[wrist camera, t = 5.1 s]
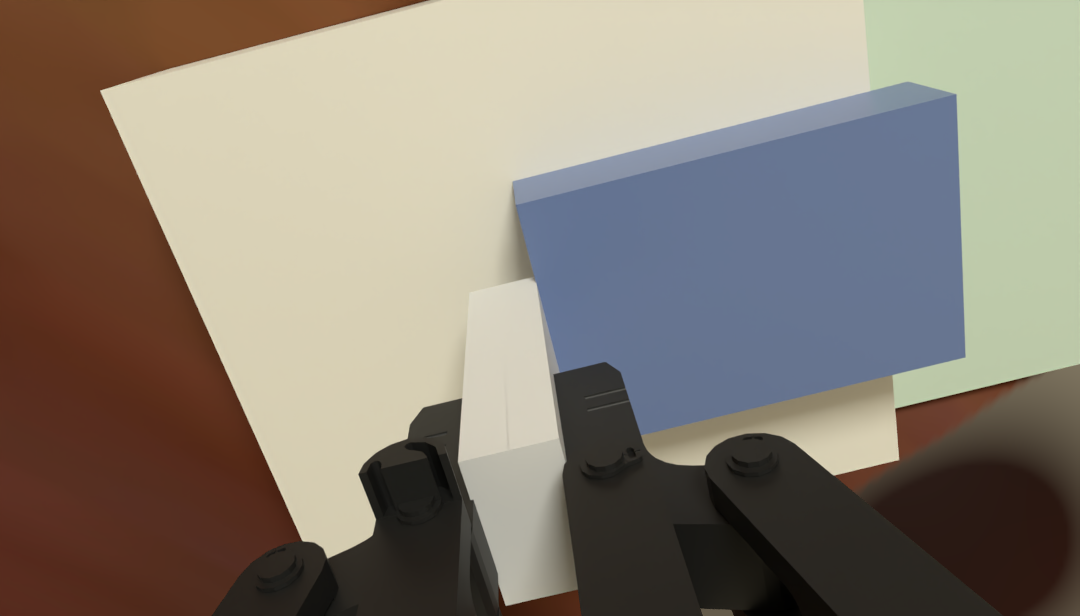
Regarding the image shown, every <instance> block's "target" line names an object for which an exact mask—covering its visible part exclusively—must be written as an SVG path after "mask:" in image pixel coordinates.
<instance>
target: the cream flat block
mask: <svg viewBox="0 0 1080 616" xmlns="http://www.w3.org/2000/svg"><path fill="white" fill-rule="evenodd" d="M869 91H870V79H869V66H868V53H867V40H866V27H865V14H864V2H863V0H429V1H425V2H421V3H417V4H414V5H410V6H406V7H402V8H398V9H395V10H391V11H387V12H383V13H379V14H376V15H372V16H368V17H364V18H360V19H357V20H353V21H349V22H345V23H342V24H338V25H334V26H330V27H326V28H323V29H319V30H315V31H311V32H307V33H304V34H300V35H296V36H292V37H289V38H285V39H281V40H277V41H273V42H270V43H266V44H262V45H258V46H254V47H251V48H247V49H243V50H239V51H235V52H232V53H228V54H224V55H220V56H217V57H213V58H209V59H205V60H201V61H198V62H194V63H190V64H186V65H182V66H179V67H175V68H171V69H168V70H164V71H161V72H158V73H155V74H152V75H149V76H145V77H142V78H139V79H136V80H133V81H130V82H126V83H123V84H120V85H117V86H114V87H111V88H107V89H104V90H101V94H102V96H103V98H104V100H105V103H106V105H107V107H108V109H109V111H110V114H111V116H112V118H113V120H114V123H115V125H116V127H117V129H118V131H119V134H120V136H121V138H122V140H123V143H124V145H125V147H126V149H127V151H128V154H129V156H130V158H131V160H132V163H133V165H134V167H135V169H136V172H137V174H138V176H139V178H140V180H141V183H142V185H143V187H144V189H145V192H146V194H147V196H148V198H149V200H150V203H151V205H152V207H153V209H154V212H155V214H156V216H157V218H158V220H159V223H160V225H161V227H162V229H163V232H164V234H165V236H166V238H167V241H168V243H169V245H170V247H171V249H172V252H173V254H174V256H175V258H176V261H177V263H178V265H179V267H180V269H181V272H182V274H183V276H184V278H185V281H186V283H187V285H188V287H189V289H190V292H191V294H192V296H193V298H194V301H195V303H196V305H197V307H198V309H199V312H200V314H201V316H202V318H203V321H204V323H205V325H206V327H207V330H208V332H209V334H210V336H211V338H212V341H213V343H214V345H215V347H216V350H217V352H218V354H219V356H220V358H221V361H222V363H223V365H224V367H225V370H226V372H227V374H228V376H229V378H230V381H231V383H232V385H233V387H234V390H235V392H236V394H237V396H238V399H239V401H240V403H241V405H242V407H243V410H244V412H245V414H246V416H247V419H248V421H249V423H250V425H251V427H252V430H253V432H254V434H255V436H256V439H257V441H258V443H259V445H260V447H261V450H262V452H263V454H264V456H265V459H266V461H267V463H268V465H269V467H270V470H271V472H272V474H273V476H274V479H275V481H276V483H277V485H278V488H279V490H280V492H281V494H282V496H283V499H284V501H285V503H286V505H287V508H288V510H289V512H290V514H291V516H292V519H293V521H294V523H295V525H296V528H297V530H298V532H299V534H300V536H301V539H302V541H305V542H314V543H316V544H318V545H319V546H321V547H322V548H323V549H324V551H325V554H326V556H327V558H330V557H332V556H334V555H337V554H339V553H341V552H343V551H345V550H348V549H350V548H352V547H354V546H356V545H358V544H360V543H361V542H363V541H365V540H367V539H368V538H370V537H371V536H372V535H373V532H374V527H375V522H376V518H375V516H374V513H373V511H372V508H371V505H370V503H369V500H368V498H367V495H366V493H365V490H364V488H363V485H362V483H361V480H360V478H359V475H358V474H359V472H360V470H361V468H362V466H363V464H364V463H365V462H366V461H367V460H368V459H370V458H371V457H372V456H373V455H374V454H375V453H377V452H378V451H380V450H382V449H384V448H385V447H387V446H389V445H391V444H394V443H397V442H400V441H403V440H405V439H407V438H408V433H409V427H410V424H411V422H412V421H413V420H414V419H415V417H416V416H417V415H418V414H419V412H420V411H421V410H422V408H423V407H427V406H432V405H436V404H440V403H444V402H448V401H452V400H457V399H461V398H462V394H463V379H464V365H465V350H466V335H467V320H468V305H469V293H470V292H474V291H478V290H482V289H486V288H490V287H494V286H498V285H502V284H506V283H510V282H515V281H519V280H523V279H527V278H531V277H534V274H533V270H532V266H531V262H530V258H529V254H528V251H527V247H526V243H525V239H524V235H523V231H522V228H521V224H520V220H519V216H518V212H517V208H516V204H515V196H514V189H513V181H516V180H520V179H524V178H528V177H532V176H536V175H540V174H544V173H548V172H552V171H556V170H560V169H564V168H568V167H572V166H575V165H579V164H583V163H587V162H591V161H595V160H599V159H603V158H607V157H611V156H615V155H619V154H623V153H627V152H631V151H635V150H639V149H643V148H647V147H651V146H655V145H659V144H663V143H667V142H671V141H675V140H678V139H682V138H686V137H690V136H694V135H698V134H702V133H706V132H710V131H714V130H718V129H722V128H726V127H730V126H734V125H738V124H742V123H746V122H750V121H754V120H758V119H762V118H766V117H770V116H774V115H778V114H781V113H785V112H789V111H793V110H797V109H801V108H805V107H809V106H813V105H817V104H821V103H825V102H829V101H833V100H837V99H841V98H845V97H849V96H853V95H857V94H861V93H865V92H869ZM748 433H767V434H772V435H777V436H782V437H784V438H786V439H787V440H789V441H791V442H793V443H795V444H796V445H797V446H798V447H800V448H801V449H802V450H803V451H804V452H806V453H807V454H808V455H809V456H811V457H812V458H813V459H814V460H815V461H817V462H818V463H819V464H820V465H821V466H823V467H824V468H825V469H826V470H827V471H829V472H830V473H831V474H832V475H837V474H842V473H846V472H850V471H854V470H858V469H863V468H867V467H871V466H875V465H879V464H884V463H888V462H892V461H896V460H899V454H898V441H897V428H896V415H895V402H894V389H893V376H892V375H890V376H886V377H882V378H878V379H874V380H870V381H866V382H861V383H857V384H853V385H849V386H845V387H841V388H836V389H832V390H828V391H824V392H820V393H816V394H811V395H807V396H803V397H799V398H795V399H791V400H787V401H782V402H778V403H774V404H770V405H766V406H762V407H757V408H753V409H749V410H745V411H741V412H737V413H732V414H728V415H724V416H720V417H716V418H712V419H708V420H703V421H699V422H695V423H691V424H687V425H683V426H678V427H674V428H670V429H666V430H662V431H658V432H653V433H649V434H645V435H641V437H642V440H643V443H644V446H645V447H646V449H647V451H648V452H649V453H650V454H651V455H653V456H654V457H655V458H657V459H659V460H662V461H664V462H667V463H672V464H676V465H691V466H692V465H705V460H706V456H707V455H708V453H709V452H710V451H711V450H712V449H713V448H714V446H716V445H717V444H719V443H721V442H723V441H725V440H726V439H728V438H731V437H735V436H739V435H743V434H748Z"/></svg>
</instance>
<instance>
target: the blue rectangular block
mask: <svg viewBox="0 0 1080 616" xmlns="http://www.w3.org/2000/svg"><path fill="white" fill-rule="evenodd" d="M513 189H514V196H515V204H516V208H517V212H518V216H519V220H520V224H521V228H522V231H523V235H524V239H525V243H526V247H527V251H528V254H529V258H530V262H531V266H532V270H533V274H534V277H535V281H536V283H537V287H538V291H539V295H540V299H541V302H542V306H543V310H544V314H545V318H546V322H547V326H548V329H549V333H550V337H551V341H552V345H553V349H554V352H555V356H556V360H557V364H558V368H559V372H560V373H561V372H565V371H569V370H573V369H577V368H581V367H586V366H590V365H594V364H598V363H602V362H607V363H608V364H610V365H611V366H612V367H614V368H615V369H617V370H618V371H620V372H621V375H622V378H623V381H624V384H625V388H626V390H627V394H628V397H629V400H630V403H631V406H632V409H633V412H634V415H635V418H636V422H637V425H638V428H639V431H640V434H641V435H645V434H649V433H653V432H658V431H662V430H666V429H670V428H674V427H678V426H683V425H687V424H691V423H695V422H699V421H703V420H708V419H712V418H716V417H720V416H724V415H728V414H732V413H737V412H741V411H745V410H749V409H753V408H757V407H762V406H766V405H770V404H774V403H778V402H782V401H787V400H791V399H795V398H799V397H803V396H807V395H811V394H816V393H820V392H824V391H828V390H832V389H836V388H841V387H845V386H849V385H853V384H857V383H861V382H866V381H870V380H874V379H878V378H882V377H886V376H890V375H895V374H899V373H903V372H907V371H911V370H915V369H920V368H924V367H928V366H932V365H936V364H940V363H945V362H949V361H953V360H957V359H961V358H965V357H966V354H965V325H964V296H963V267H962V238H961V209H960V180H959V151H958V122H957V94H954V93H950V92H946V91H942V90H939V89H935V88H931V87H927V86H923V85H919V84H916V83H912V82H904V83H900V84H896V85H892V86H888V87H884V88H880V89H876V90H872V91H869V92H865V93H861V94H857V95H853V96H849V97H845V98H841V99H837V100H833V101H829V102H825V103H821V104H817V105H813V106H809V107H805V108H801V109H797V110H793V111H789V112H785V113H781V114H778V115H774V116H770V117H766V118H762V119H758V120H754V121H750V122H746V123H742V124H738V125H734V126H730V127H726V128H722V129H718V130H714V131H710V132H706V133H702V134H698V135H694V136H690V137H686V138H682V139H678V140H675V141H671V142H667V143H663V144H659V145H655V146H651V147H647V148H643V149H639V150H635V151H631V152H627V153H623V154H619V155H615V156H611V157H607V158H603V159H599V160H595V161H591V162H587V163H583V164H579V165H575V166H572V167H568V168H564V169H560V170H556V171H552V172H548V173H544V174H540V175H536V176H532V177H528V178H524V179H520V180H516V181H513Z"/></svg>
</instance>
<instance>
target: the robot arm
mask: <svg viewBox="0 0 1080 616" xmlns="http://www.w3.org/2000/svg"><path fill="white" fill-rule="evenodd" d="M358 475H359V478H360V480H361V483H362V485H363V488H364V490H365V493H366V495H367V498H368V500H369V503H370V505H371V508H372V511H373V513H374V516H375V518H376V522H375V527H374V532H373V535H372V536H371V537H370V538H368V539H367V540H365V541H363V542H361V543H360V544H358V545H356V546H354V547H352V548H350V549H348V550H345V551H343V552H341V553H339V554H337V555H334V556H332V557H330V558H327V556H326V554H325V551H324V549H323V548H322V547H321V546H319V545H318V544H316V543H314V542H305V541H299V542H294V543H289V544H284V545H282V546H279V547H277V548H274V549H272V550H270V551H268V552H266V553H265V554H264V555H262V556H261V557H259V558H258V559H256V560H255V561H254V562H252V563H251V564H250V565H249V566H248V567H247V568H246V569H245V570H244V572H243V573H242V574H241V575H240V576H239V577H238V579H237V580H236V582H235V583H234V585H233V586H232V587H231V589H230V590H229V592H228V593H227V595H226V596H225V597H224V599H223V600H222V602H221V603H220V605H219V606H218V608H217V609H216V610H215V612H214V613H213V615H212V616H502V614H501V611H500V608H499V605H498V584H499V587H500V590H501V593H502V596H503V599H504V602H505V605H506V606H507V605H512V604H516V603H521V602H525V601H529V600H534V599H538V598H542V597H547V596H551V595H556V594H560V593H564V592H569V591H573V590H577V589H578V593H579V600H580V608H581V615H582V616H703V615H702V612H701V609H700V608H704V609H730V610H732V612H733V615H734V616H1003V615H1001V614H1000V613H999V612H998V611H997V610H995V609H994V608H993V607H992V606H990V605H989V604H988V603H987V602H986V601H985V600H983V599H982V598H981V597H980V596H979V595H977V594H976V593H975V592H974V591H972V590H971V589H970V588H969V587H967V586H966V585H965V584H964V583H963V582H962V581H960V580H959V579H958V578H957V577H955V576H954V575H953V574H952V573H951V572H949V571H948V570H947V569H946V568H945V567H943V566H942V565H941V564H940V563H939V562H937V561H936V560H935V559H934V558H933V557H931V556H930V555H929V554H928V553H927V552H925V551H924V550H923V549H922V548H920V547H919V546H918V545H917V544H916V543H914V542H913V541H912V540H911V539H910V538H908V537H907V536H906V535H905V534H904V533H902V532H901V531H900V530H899V529H897V528H896V527H895V526H894V525H893V524H891V523H890V522H889V521H888V520H887V519H885V518H884V517H883V516H882V515H881V514H879V513H878V512H877V511H876V510H874V509H873V508H872V507H871V506H870V505H869V504H867V503H866V502H865V501H864V500H862V499H861V498H860V497H859V496H858V495H856V494H855V493H854V492H853V491H852V490H850V489H849V488H848V487H847V486H846V485H844V484H843V483H842V482H841V481H840V480H838V479H837V478H836V477H835V476H833V475H832V474H831V473H830V472H829V471H827V470H826V469H825V468H824V467H823V466H821V465H820V464H819V463H818V462H817V461H815V460H814V459H813V458H812V457H811V456H809V455H808V454H807V453H806V452H804V451H803V450H802V449H801V448H800V447H798V446H797V445H796V444H795V443H793V442H791V441H789V440H787V439H786V438H784V437H782V436H777V435H772V434H767V433H748V434H743V435H739V436H735V437H731V438H728V439H726V440H725V441H723V442H721V443H719V444H717V445H716V446H714V448H713V449H712V450H711V451H710V452H709V453H708V455H707V456H706V460H705V465H692V466H691V465H676V464H672V463H667V462H664V461H662V460H659V459H657V458H655V457H654V456H653V455H651V454H650V453H649V452H648V451H647V449H646V447H645V446H644V443H643V440H642V437H641V434H640V431H639V428H638V425H637V422H636V418H635V415H634V412H633V409H632V406H631V403H630V400H629V397H628V394H627V390H626V388H625V384H624V381H623V378H622V375H621V372H620V371H618V370H617V369H615V368H614V367H612V366H611V365H610V364H608V363H607V362H602V363H598V364H594V365H590V366H586V367H581V368H577V369H573V370H569V371H565V372H561V373H560V372H559V368H558V364H557V360H556V356H555V352H554V349H553V345H552V341H551V337H550V333H549V329H548V326H547V322H546V318H545V314H544V310H543V306H542V302H541V299H540V295H539V291H538V287H537V283H536V281H535V277H531V278H527V279H523V280H519V281H515V282H510V283H506V284H502V285H498V286H494V287H490V288H486V289H482V290H478V291H474V292H470V293H469V305H468V320H467V335H466V350H465V365H464V379H463V394H462V398H461V399H457V400H452V401H448V402H444V403H440V404H436V405H432V406H427V407H423V408H422V410H421V411H420V412H419V414H418V415H417V416H416V417H415V419H414V420H413V421H412V422H411V424H410V427H409V433H408V438H407V439H405V440H403V441H400V442H397V443H394V444H391V445H389V446H387V447H385V448H384V449H382V450H380V451H378V452H377V453H375V454H374V455H373V456H372V457H371V458H370V459H368V460H367V461H366V462H365V463H364V464H363V466H362V468H361V470H360V472H359V474H358Z"/></svg>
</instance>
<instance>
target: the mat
mask: <svg viewBox="0 0 1080 616" xmlns="http://www.w3.org/2000/svg"><path fill="white" fill-rule="evenodd" d="M863 2H864V14H865V27H866V40H867V53H868V66H869V79H870V91H872V90H876V89H880V88H884V87H888V86H892V85H896V84H900V83H904V82H912V83H916V84H919V85H923V86H927V87H931V88H935V89H939V90H942V91H946V92H950V93H954V94H957V122H958V151H959V180H960V209H961V238H962V267H963V296H964V325H965V354H966V357H965V358H961V359H957V360H953V361H949V362H945V363H940V364H936V365H932V366H928V367H924V368H920V369H915V370H911V371H907V372H903V373H899V374H895V375H892V376H893V389H894V402H895V408H899V407H903V406H907V405H912V404H916V403H920V402H924V401H928V400H932V399H937V398H941V397H945V396H949V395H953V394H957V393H962V392H966V391H970V390H974V389H978V388H982V387H987V386H991V385H995V384H999V383H1003V382H1007V381H1012V380H1016V379H1020V378H1024V377H1028V376H1032V375H1037V374H1041V373H1045V372H1049V371H1053V370H1057V369H1062V368H1066V367H1070V366H1074V365H1078V364H1080V0H863Z"/></svg>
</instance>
